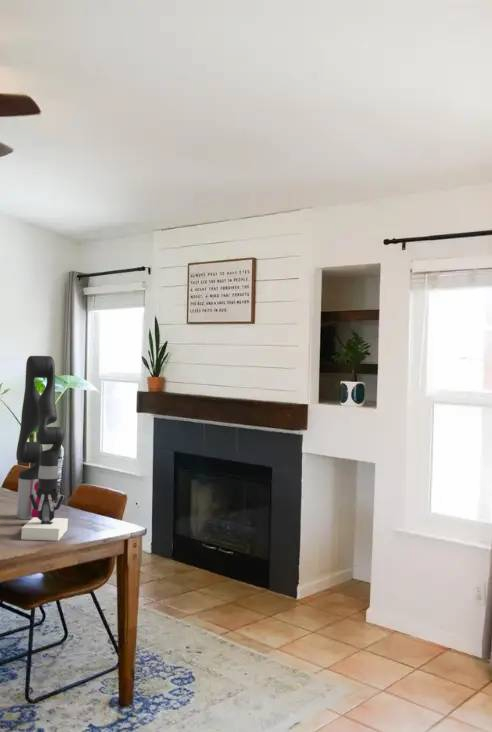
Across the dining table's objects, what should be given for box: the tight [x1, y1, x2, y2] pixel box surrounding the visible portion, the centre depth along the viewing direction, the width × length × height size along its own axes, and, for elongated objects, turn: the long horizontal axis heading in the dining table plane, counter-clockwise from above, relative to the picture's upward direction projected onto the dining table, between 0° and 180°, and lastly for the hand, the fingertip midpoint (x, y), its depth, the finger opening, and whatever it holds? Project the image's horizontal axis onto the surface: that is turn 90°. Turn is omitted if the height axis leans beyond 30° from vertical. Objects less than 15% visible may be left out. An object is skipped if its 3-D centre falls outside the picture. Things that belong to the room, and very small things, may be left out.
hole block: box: [20, 517, 69, 542], centre depth 285 cm, size 20×14×4 cm
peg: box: [41, 502, 51, 524], centre depth 285 cm, size 4×4×10 cm
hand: (45, 519), depth 285 cm, fingers closed on peg, 3 cm apart
